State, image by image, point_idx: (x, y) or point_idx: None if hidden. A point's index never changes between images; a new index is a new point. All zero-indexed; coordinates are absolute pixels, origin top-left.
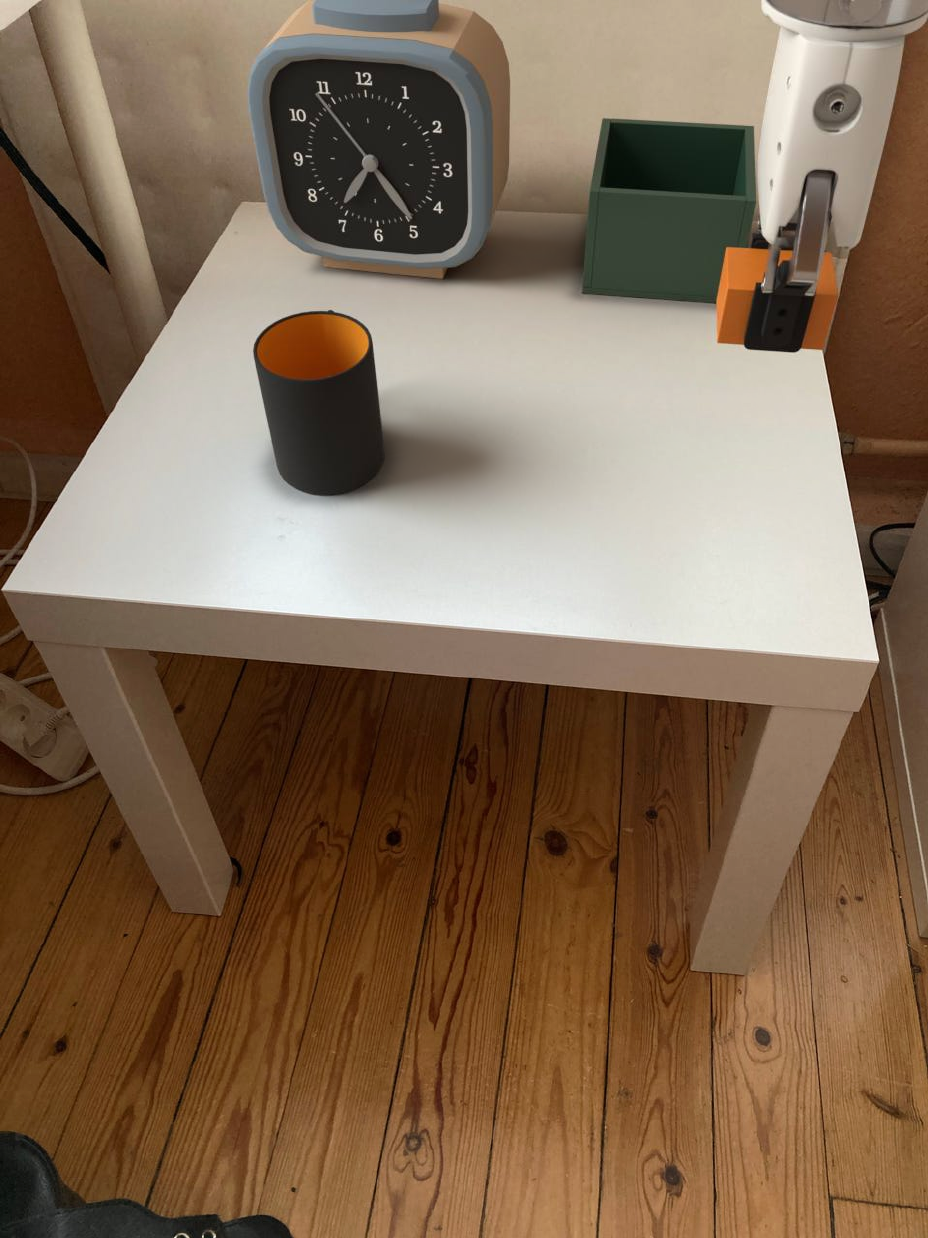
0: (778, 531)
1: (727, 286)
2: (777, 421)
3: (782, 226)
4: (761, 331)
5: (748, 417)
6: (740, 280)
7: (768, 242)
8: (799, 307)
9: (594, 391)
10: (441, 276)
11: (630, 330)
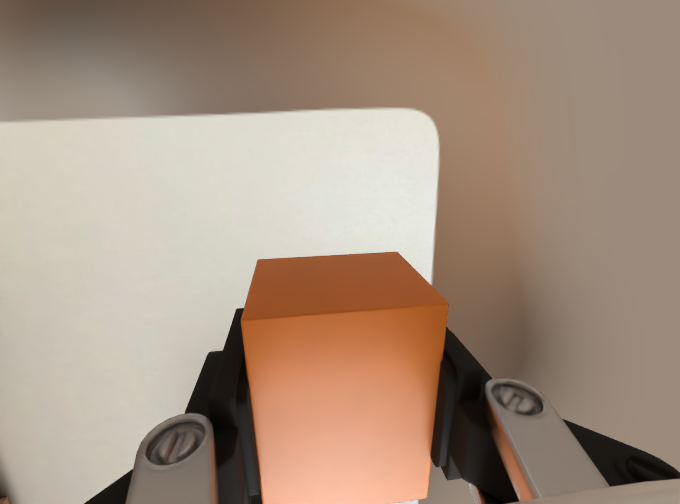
0: (307, 175)
1: (418, 498)
2: (137, 172)
3: (230, 496)
4: None
5: (140, 202)
6: (397, 484)
7: (256, 475)
8: (490, 376)
9: (146, 345)
10: (5, 500)
11: (21, 328)
